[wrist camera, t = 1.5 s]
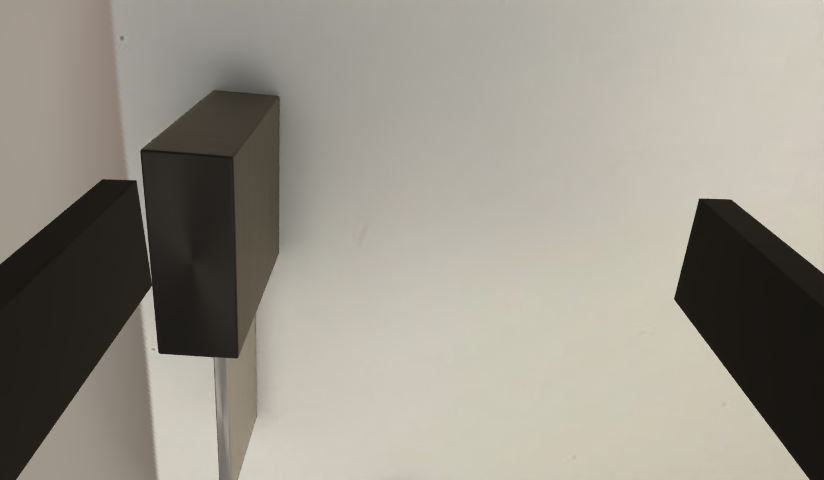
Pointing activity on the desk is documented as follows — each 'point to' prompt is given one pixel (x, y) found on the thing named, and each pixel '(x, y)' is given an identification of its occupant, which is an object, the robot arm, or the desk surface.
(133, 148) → the desk surface
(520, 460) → the desk surface
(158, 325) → the black and grey bar
